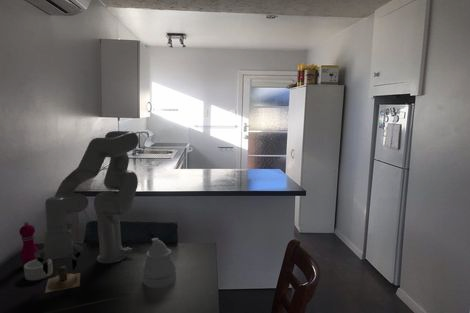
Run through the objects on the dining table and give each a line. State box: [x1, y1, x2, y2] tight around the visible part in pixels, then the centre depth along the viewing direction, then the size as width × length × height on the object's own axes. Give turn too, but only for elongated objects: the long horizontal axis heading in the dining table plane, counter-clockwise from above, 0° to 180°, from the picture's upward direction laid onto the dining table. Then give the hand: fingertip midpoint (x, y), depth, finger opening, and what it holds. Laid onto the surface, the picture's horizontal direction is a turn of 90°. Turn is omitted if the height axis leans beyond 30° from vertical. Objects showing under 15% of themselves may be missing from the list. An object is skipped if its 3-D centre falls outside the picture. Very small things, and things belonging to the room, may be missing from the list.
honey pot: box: [142, 237, 177, 289], centre depth 139 cm, size 13×13×18 cm
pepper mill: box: [19, 221, 39, 268], centre depth 155 cm, size 7×7×20 cm
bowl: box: [23, 257, 54, 281], centre depth 145 cm, size 10×10×6 cm
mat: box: [44, 272, 81, 294], centre depth 139 cm, size 12×12×1 cm
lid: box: [49, 265, 77, 289], centre depth 138 cm, size 10×10×6 cm
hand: (60, 270), depth 137 cm, fingers open, 9 cm apart
